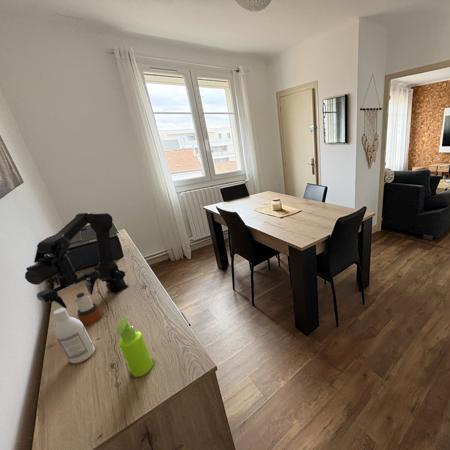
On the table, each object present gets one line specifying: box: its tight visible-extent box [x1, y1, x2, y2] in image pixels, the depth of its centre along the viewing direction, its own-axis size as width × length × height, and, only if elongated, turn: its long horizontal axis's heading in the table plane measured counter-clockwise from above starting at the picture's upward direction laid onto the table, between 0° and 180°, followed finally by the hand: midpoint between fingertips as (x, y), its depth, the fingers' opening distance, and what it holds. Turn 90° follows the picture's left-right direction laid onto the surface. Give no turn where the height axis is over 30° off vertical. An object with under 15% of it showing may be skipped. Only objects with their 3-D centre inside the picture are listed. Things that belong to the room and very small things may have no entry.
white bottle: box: [74, 292, 93, 312], centre depth 98 cm, size 4×4×7 cm
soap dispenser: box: [115, 317, 154, 378], centre depth 74 cm, size 6×7×20 cm
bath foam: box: [52, 307, 96, 364], centre depth 81 cm, size 7×7×20 cm
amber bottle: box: [76, 302, 103, 326], centre depth 101 cm, size 7×7×6 cm
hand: (78, 301), depth 100 cm, fingers open, 9 cm apart
